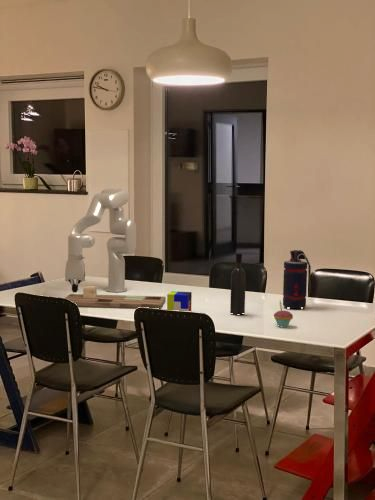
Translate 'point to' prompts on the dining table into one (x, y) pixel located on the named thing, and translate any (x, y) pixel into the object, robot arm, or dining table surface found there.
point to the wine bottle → (238, 287)
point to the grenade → (296, 280)
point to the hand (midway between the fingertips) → (74, 292)
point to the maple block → (90, 291)
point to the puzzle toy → (179, 301)
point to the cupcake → (283, 317)
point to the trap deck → (117, 301)
